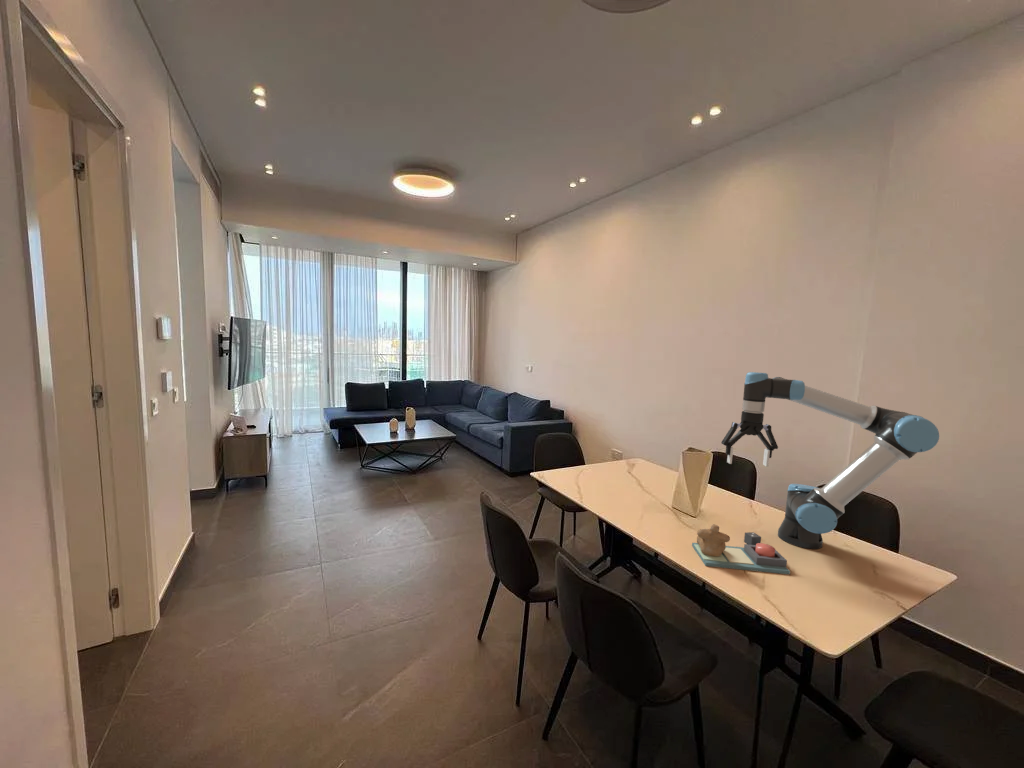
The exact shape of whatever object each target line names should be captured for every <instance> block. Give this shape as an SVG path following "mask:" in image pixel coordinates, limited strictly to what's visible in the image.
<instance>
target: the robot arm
mask: <svg viewBox="0 0 1024 768" xmlns="http://www.w3.org/2000/svg"><path fill="white" fill-rule="evenodd" d="M744 380H745V381H744V386H743V398H742V407H741V408H742V411H741V414H740V415H741V416H740V417H741V418H740V423H738V422H735V421H734V422H733V421H732V422H731V426H730V428H729V430H728V431H727V433H726V435H725V436H724V438H723V439H722V441H721V445H723V446H724V447H725V455H727V458H726V463H728V464H729V465H732V464H733V455H734V447H733V446H734V445H735V444H736V443H737V442H738V441H739V440H740V439H741V438H743V437H744V436H754V437H755V436H757V437H758V438H759V440H760V441H761V443H763V445H764V446H765V447H766V448H764V451H763V460H762V465H763V466H764V467H769V464H770V462H769V461H770V459H772V456H773V455H772V454H773V451H774V450H778V448H779V446H778V443H777V441H776V439H775V436H774V433H773V431H772V425H770V424H767V423H766V424H763V422H764V417H765V414H764V412H765V406H766V399H768V398H771V399H780V400H788V401H791V402H794V403H797V404H799V405H802V406H805V407H808V408H811V409H814V410H817V411H820V412H822V413H824V414H828V415H831V416H833V417H836V418H840V419H843V420H845V421H848V422H852V423H854V424H857V425H859V426H860V428H861V429H863V430H867V431H868V432H871V433H873V434H875V435H874V436H873V441H874V442H873V443H872V444H870V446H869V447H867V448H866V449H865V450H864V451H863V452H862V453H860V454H859V455H858V456H857V457H856V458H855V459H854V460H853V461H851V462H850V463H849V464H848V465H847V466H845V467H844V468H843V469H842V470H841V471H840V472H839V473H838V474H837V475H835V476H834V477H833V478H832V479H830V480H829V481H828V482H827V483H825V485H823V486H822V487H821V488H820V487H816V486H813V485H808V484H800V483H790V484H789V485H788V488H787V490H786V491H787V496H786V504H785V511H784V512H785V514H784V519H783V520H782V522H781V524H780V526H779V527H778V530H777V537H778V538H779V539H781V540H782V541H784V542H786V543H788V544H791V545H792V546H796V547H800V548H803V549H811V550H817V549H821V548H822V547H823V544H824V540H823V536H822V535H823V534H827V533H830V532H832V531H834V529H835V528H836V527H837V525H838V519H839V518H840V517H841V516H843V514H845V511H846V510H845V506H846V505H848V504H849V502H851V501H852V500H854V499H855V498H856V497H857V496H858V495H860V494H861V493H862V492H863V491H864V490H865V489H866V488H868V487H869V486H870V485H871V484H873V483H874V482H875V481H876V480H878V478H880V477H881V476H883V474H885V473H886V472H887V471H888V470H890V468H892V467H893V466H895V464H897V463H898V462H899V461H901V460H910V459H911V458H913V457H914V456H916V454H917V453H925V452H928V451H930V450H932V449H933V448H935V447H936V446H937V444H938V442H939V440H940V432H939V429H938V427H937V426H936V425H935V423H934V422H932V421H931V420H929V419H927V418H925V417H923V416H920V415H916V414H912V413H908V412H905V411H899V410H893V409H888V408H885V407H884V408H883V407H880V406H877V405H874V404H873V405H871V406H868V405H865V404H862V403H860V402H856V401H853V400H850V399H848V398H844V397H842V396H838V395H836V394H832V393H829V392H826V391H823V390H820V389H817V388H814V387H811V386H808V385H805V382H804V381H803V380H798V379H787V378H784V377H781V376H776V377H773V378H771V377H770V378H769V373H767V372H756V371H755V372H754V371H749V372H747V373H746V375H745V379H744ZM739 428H740V430H738V431H737V429H739ZM762 430H764V431H765V433H766V436H767V437H765V436H764V434H763V432H762ZM736 431H737V433H736ZM735 433H736V434H735ZM734 434H735V435H734ZM766 438H768V439H766Z"/></svg>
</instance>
